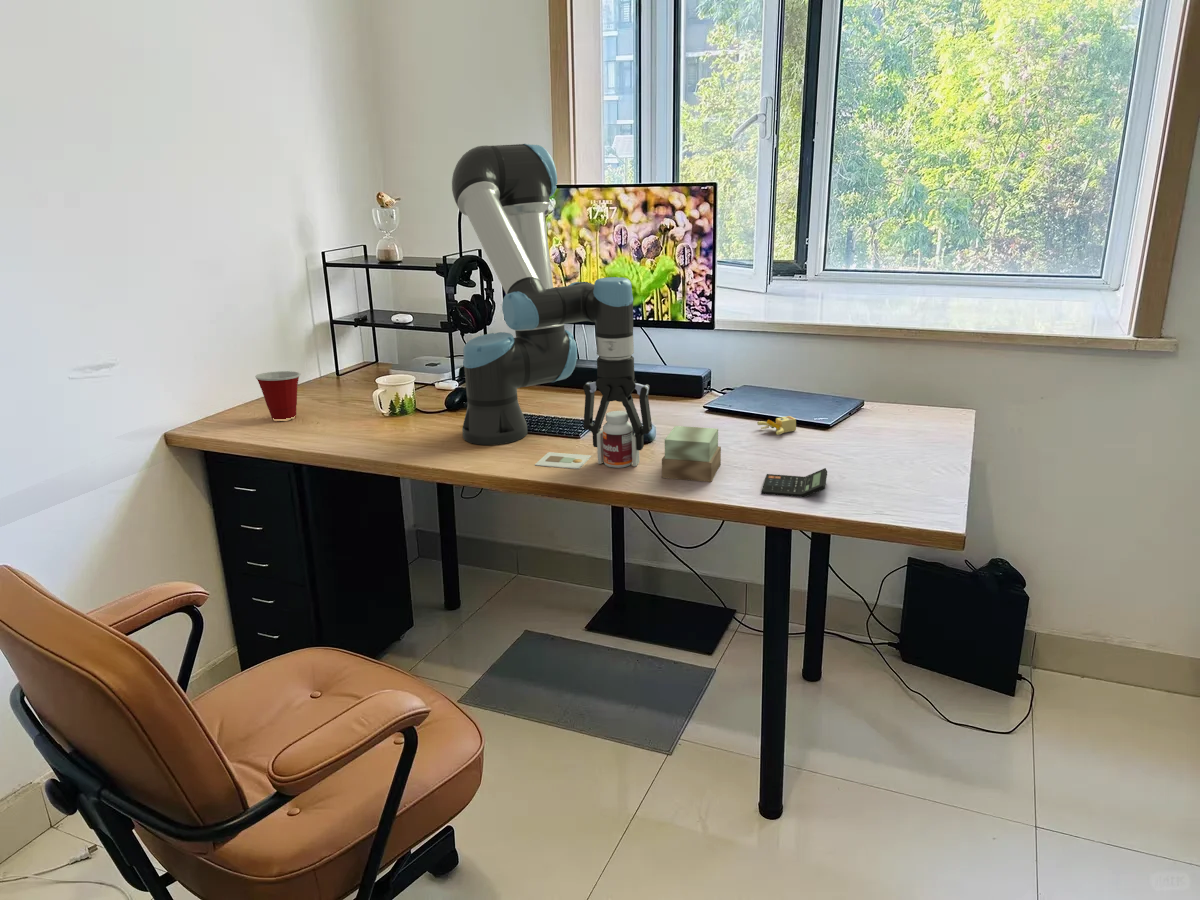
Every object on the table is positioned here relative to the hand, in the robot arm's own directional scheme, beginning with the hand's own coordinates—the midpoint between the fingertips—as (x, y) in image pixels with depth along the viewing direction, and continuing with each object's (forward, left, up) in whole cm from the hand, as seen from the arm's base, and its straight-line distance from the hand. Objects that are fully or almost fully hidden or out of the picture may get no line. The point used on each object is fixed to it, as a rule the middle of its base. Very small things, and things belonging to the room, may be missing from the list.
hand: (618, 462), depth 180 cm
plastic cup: (-94, +13, 0) cm, 95 cm away
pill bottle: (0, 0, 0) cm, 0 cm away
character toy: (+28, +29, -1) cm, 40 cm away
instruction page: (-12, -1, 0) cm, 12 cm away
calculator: (+37, -5, -1) cm, 37 cm away
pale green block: (+16, -1, 0) cm, 16 cm away
